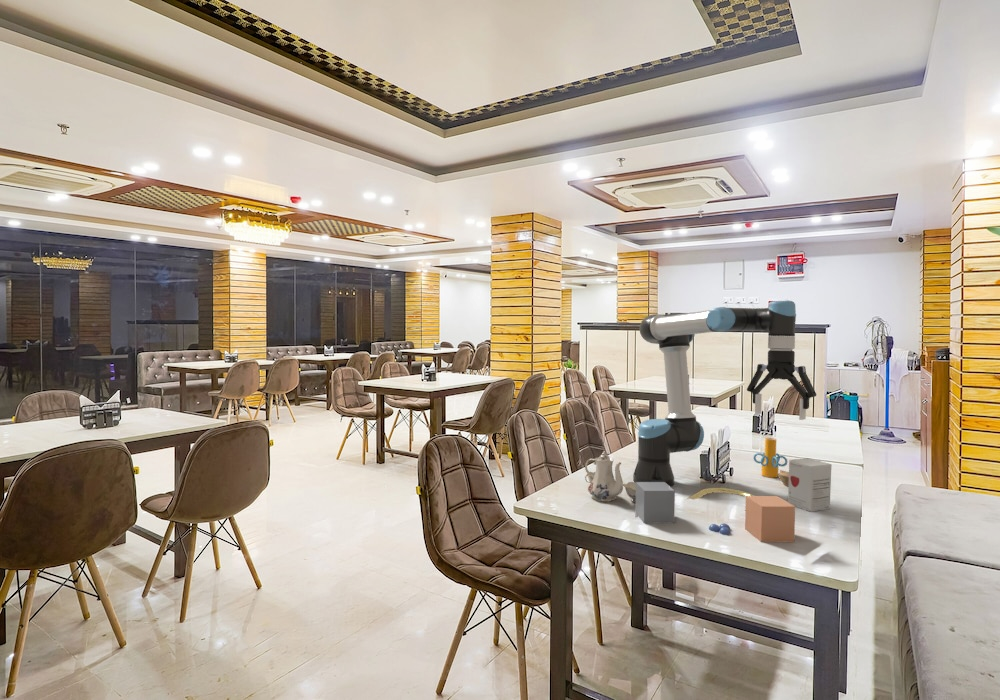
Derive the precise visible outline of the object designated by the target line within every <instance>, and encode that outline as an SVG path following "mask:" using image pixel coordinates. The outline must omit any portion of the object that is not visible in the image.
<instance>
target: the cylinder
mask: <svg viewBox="0 0 1000 700" xmlns="http://www.w3.org/2000/svg"><path fill="white" fill-rule="evenodd" d="M757 456H761V458H760V461H759V460H757ZM780 459H784V463H783V464H781V463H779V462H780ZM753 461H754V462H755V463H757V464H760V465H761V476H762V477H765V478H771V479H772V478H775V479H776V478H778V477H779V476H778V473H779V467H785V466H786V465H788V459H787V458H786V456H784V455H780V453H777V438H775V437H765V439H764V452H763V453H761V452H756V453H755V454H754V455H753Z"/></svg>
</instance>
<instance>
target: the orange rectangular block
mask: <svg viewBox="0 0 1000 700" xmlns="http://www.w3.org/2000/svg"><path fill="white" fill-rule="evenodd" d="M744 508H745V510H744V511H745V512H744V513H745V514H744V515H745V516H744V518H745V519H744V520H745V521H744V530H745V531H747V532H748V533H749V535H751V536H752V537H754V538H755V539H757V540H758V541H759V542H760V543H762V542H763V543H769V542H770V543H776V542H777V543H780V542H781V543H783V542H785V543H790V542H791V543H794V542H795V531H796V529H795V528H796V525H795V524H796V506H794V505H792V504H790V503H788V501H786V500H785V499H783V498H782V497H780V496H777V495H754V496H746V497H745V507H744Z"/></svg>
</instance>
